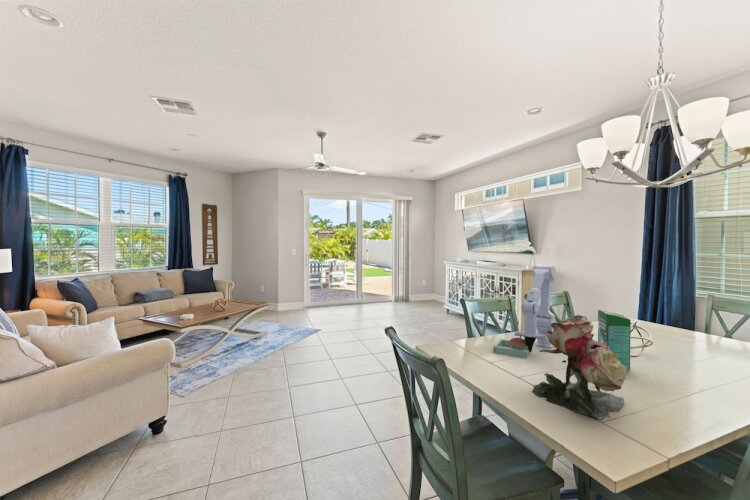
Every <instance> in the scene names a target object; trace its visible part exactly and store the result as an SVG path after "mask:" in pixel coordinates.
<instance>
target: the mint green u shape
mask: <svg viewBox="0 0 750 500" xmlns="http://www.w3.org/2000/svg"><path fill="white" fill-rule="evenodd" d="M501 345H502V346H501ZM504 345H506V347H504ZM500 346H501V347H500ZM510 346H511V345H510V344H509V339H503V338H500V339H499V340H498V341H497V342H496V343H495V344H494V345H493V353H495V352H497V353H496V354H500V353H502V354H501V355H506V354H507V355H508V356H511V357H513V356H514V357H518V358H525V359H528V352H529V350H528V346H526V347H525V349H524V351H522V350H515V349H512V348H508V347H510ZM527 350H528V351H527ZM507 355H506V356H507Z"/></svg>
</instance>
